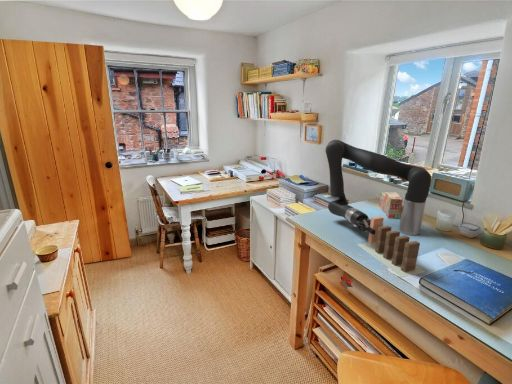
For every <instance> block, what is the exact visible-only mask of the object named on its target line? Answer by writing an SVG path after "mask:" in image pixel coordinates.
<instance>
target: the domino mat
mask: <svg viewBox="0 0 512 384" xmlns="http://www.w3.org/2000/svg"><path fill="white" fill-rule="evenodd" d="M357 246H358V247H360V248H361V249H363V250H364V251H366V252H367V253H368V254H369V255H370V256H372V257H374V258H375V259H376V260H377V261H379V262H380V263H381V264H383V265H384V266H385V267H387V268H388V269H390V270H391V271H392V272H394V273H395V274H396V275H398V276H399V277H400V278H404V277H408V276H411V275H416V274H420V273H421V274H422V273H426V271H425V270H424V269H423V268H422V267H419V266H418V265H417V264H416V267H415V270H414V271H409V272H403V271H402V270H401V265H402V264H401V265H396V266H395V265H393V264H392V259H385V258H384V257H383V254H384V253H379V254H378V253H377V252H375V249H376V243H372V244H371V243H369V242H363V243H357Z"/></svg>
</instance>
